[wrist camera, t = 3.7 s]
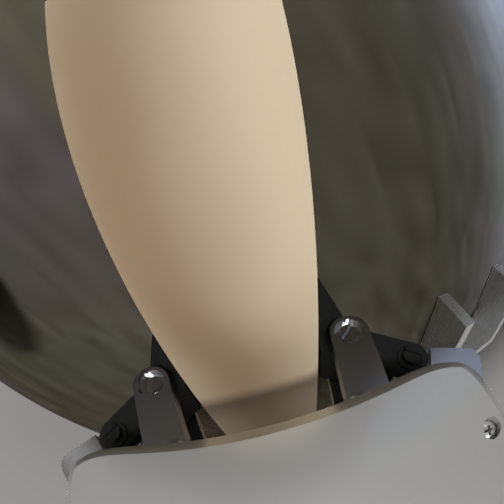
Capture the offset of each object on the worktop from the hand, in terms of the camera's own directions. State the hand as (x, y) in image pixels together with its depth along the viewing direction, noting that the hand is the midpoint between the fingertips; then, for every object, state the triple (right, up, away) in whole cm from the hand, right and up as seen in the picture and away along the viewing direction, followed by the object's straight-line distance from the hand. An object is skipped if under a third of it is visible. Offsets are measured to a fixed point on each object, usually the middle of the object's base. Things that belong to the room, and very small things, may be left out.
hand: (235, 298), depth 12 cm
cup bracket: (+19, -3, +7) cm, 20 cm away
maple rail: (0, 0, 0) cm, 1 cm away
